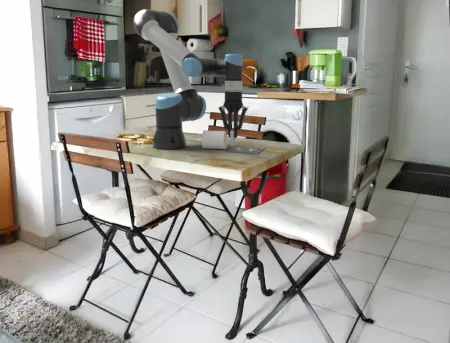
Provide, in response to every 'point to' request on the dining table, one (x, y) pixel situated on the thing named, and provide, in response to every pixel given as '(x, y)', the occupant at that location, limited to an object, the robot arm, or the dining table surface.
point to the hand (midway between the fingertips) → (232, 144)
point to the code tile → (245, 150)
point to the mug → (214, 139)
